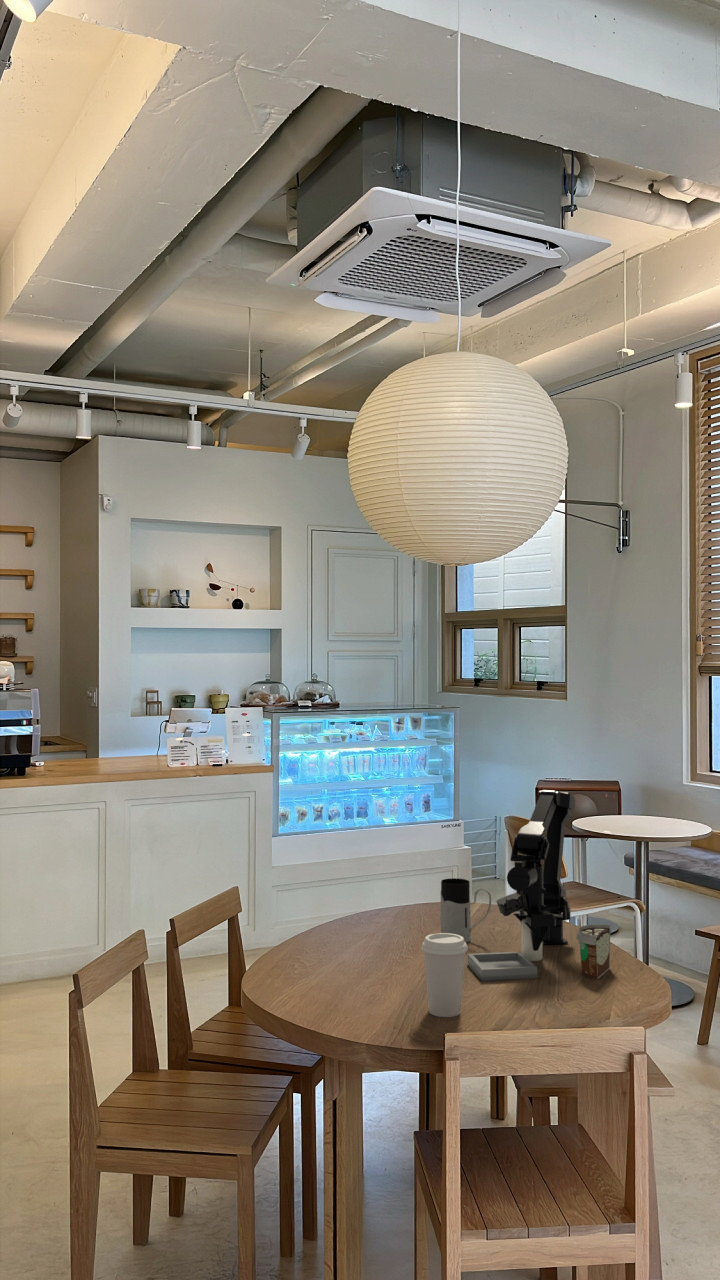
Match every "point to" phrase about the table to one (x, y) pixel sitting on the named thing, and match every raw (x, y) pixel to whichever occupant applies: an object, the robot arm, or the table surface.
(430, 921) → the table surface
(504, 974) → the tray
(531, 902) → the robot arm
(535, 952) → the cylinder
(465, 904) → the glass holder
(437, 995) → the coffee cup
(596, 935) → the food container
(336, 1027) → the table surface
